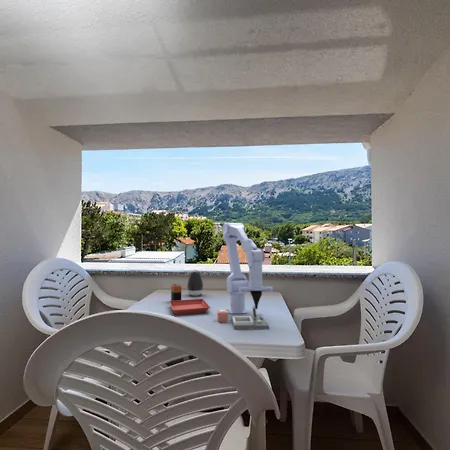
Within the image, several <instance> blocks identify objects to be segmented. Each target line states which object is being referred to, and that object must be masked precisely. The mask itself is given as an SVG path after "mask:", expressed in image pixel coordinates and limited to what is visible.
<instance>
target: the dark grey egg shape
mask: <svg viewBox="0 0 450 450" xmlns="http://www.w3.org/2000/svg"><path fill="white" fill-rule="evenodd" d="M187 279H188V281H187V285H186V290H187V293H188V294H189V295H190V296H194V297H196V296H200V295H201V294H203V291H204V281H203V277H202V275H201V273H200V271H198V269H197V270H196V269H195V270H191V272H190V274H189V277H188V278H187Z"/></svg>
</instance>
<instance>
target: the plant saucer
mask: <svg viewBox="0 0 450 450" xmlns="http://www.w3.org/2000/svg"><path fill="white" fill-rule="evenodd" d="M169 304H170V307H171V311H172V312H173V313H174V315H175V316H177V315H188V314H189V315H191V314H192V315H193V314H203V313H207V312H208V311H209V309H210V308H211V306H210V305H209V304H208V302H207V301H205V299H204V298H191V299H181V300H176V301H172V300H170V301H169Z"/></svg>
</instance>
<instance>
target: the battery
mask: <svg viewBox="0 0 450 450" xmlns="http://www.w3.org/2000/svg"><path fill="white" fill-rule="evenodd" d="M170 287H171V288H170V289H171V290H170V292H171V293H170V294H171V295H170V297H171V298H170V299H171V300H170V301H176V300H182V285H181V284H179V283H178V282H174V283H173V284H171V286H170Z"/></svg>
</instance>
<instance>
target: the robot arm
mask: <svg viewBox="0 0 450 450" xmlns="http://www.w3.org/2000/svg"><path fill="white" fill-rule="evenodd" d="M221 231H222V238H223V240H224V241H225V244H226V251H227V256H228V263H229V269H230V275H228V276H227V278H226V291H227V292H228V294H229V296H230V297H229V303H230V304H229V306H228V313H229V314H230V315H237V314H248V313H247V310H246V294H247V293H250V295H251V298H252V300H253V303H254V304H253V305H255V310H258V305H259V303H260V299H261V297H262V296H263V292H264V293H265V292H270V293H271V292H273V291H274V287H273V286H263V263H264V261H265V257H266V256H265V252H264V250H263V249H262V248H258V246H257V245H256V244H255V242H254V241H253V239H252V238H248V235H247V234H246V232H245V226H244V224H243V223H242V222H224V223H223V225H222V230H221ZM238 241H240V243H241V248H242V249H243V251H244V252H245V254H246V256H245V258H246V261H247V267H248V279H249V280H248V279H247V276H246V275H245V274H243V272H242V269H241V264H240V258H239V252H238V246H237V242H238Z"/></svg>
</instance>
